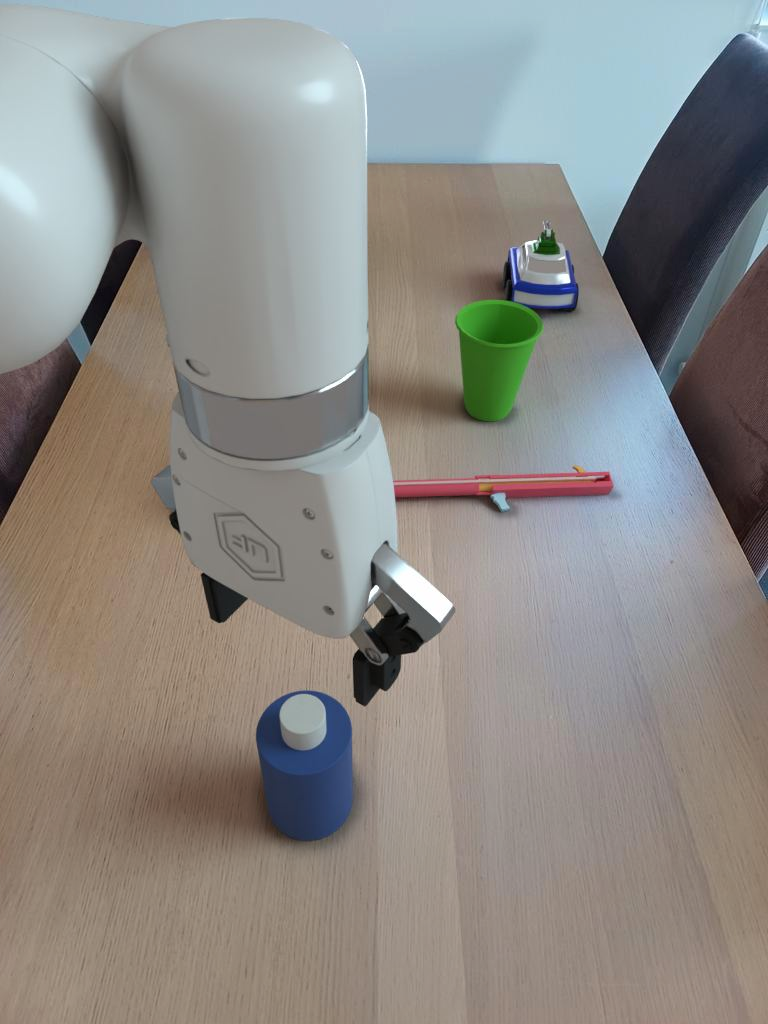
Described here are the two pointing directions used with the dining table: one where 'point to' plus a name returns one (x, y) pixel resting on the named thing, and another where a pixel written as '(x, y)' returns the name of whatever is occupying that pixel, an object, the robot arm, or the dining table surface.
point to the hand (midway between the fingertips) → (302, 643)
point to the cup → (495, 354)
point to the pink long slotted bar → (510, 486)
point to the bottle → (306, 764)
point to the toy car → (541, 274)
